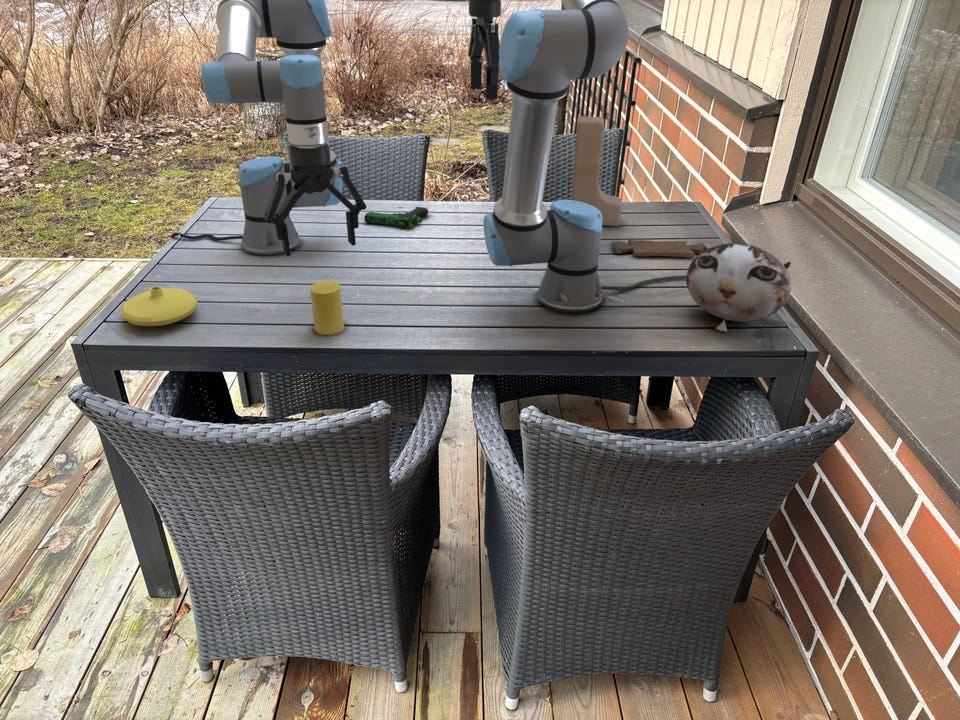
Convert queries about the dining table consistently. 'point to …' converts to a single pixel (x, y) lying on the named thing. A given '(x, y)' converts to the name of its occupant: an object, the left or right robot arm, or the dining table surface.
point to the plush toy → (738, 282)
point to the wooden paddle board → (657, 248)
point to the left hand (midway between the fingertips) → (320, 248)
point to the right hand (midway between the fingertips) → (483, 94)
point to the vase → (159, 306)
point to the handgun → (398, 218)
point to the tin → (327, 307)
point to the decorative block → (592, 171)
